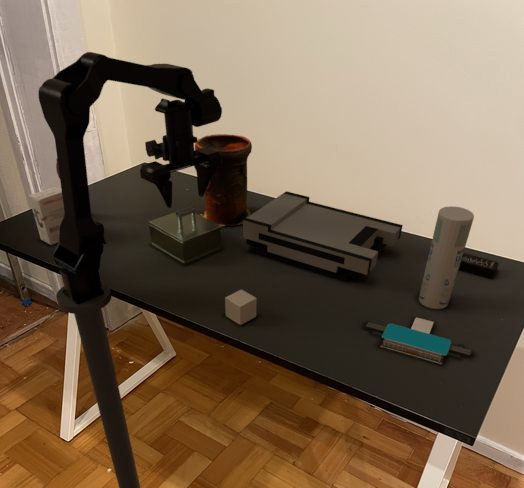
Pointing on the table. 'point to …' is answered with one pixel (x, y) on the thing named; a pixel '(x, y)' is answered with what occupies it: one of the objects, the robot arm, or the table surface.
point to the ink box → (48, 213)
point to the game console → (318, 236)
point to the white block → (240, 307)
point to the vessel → (227, 179)
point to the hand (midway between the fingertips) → (185, 201)
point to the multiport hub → (478, 266)
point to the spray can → (445, 256)
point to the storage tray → (185, 245)
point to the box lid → (185, 225)
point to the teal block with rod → (417, 341)
